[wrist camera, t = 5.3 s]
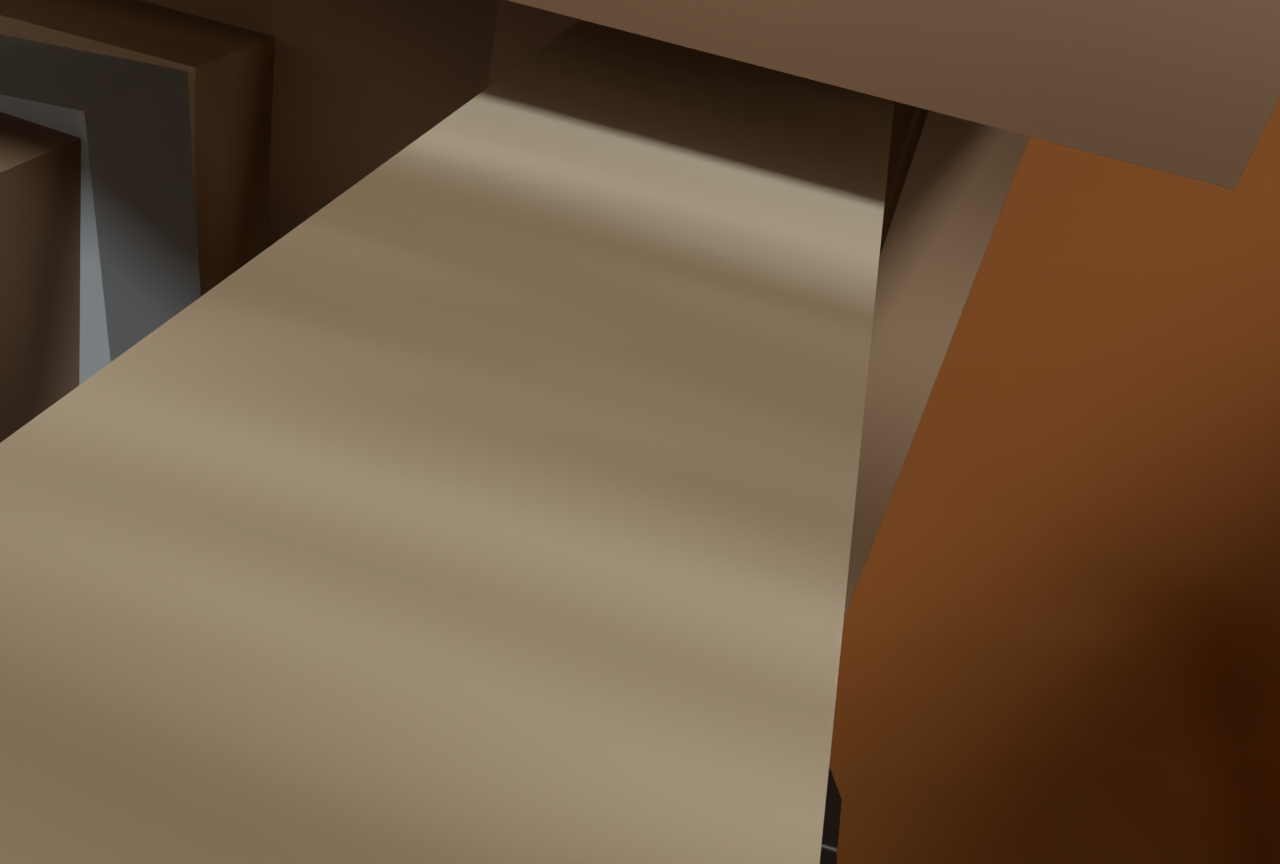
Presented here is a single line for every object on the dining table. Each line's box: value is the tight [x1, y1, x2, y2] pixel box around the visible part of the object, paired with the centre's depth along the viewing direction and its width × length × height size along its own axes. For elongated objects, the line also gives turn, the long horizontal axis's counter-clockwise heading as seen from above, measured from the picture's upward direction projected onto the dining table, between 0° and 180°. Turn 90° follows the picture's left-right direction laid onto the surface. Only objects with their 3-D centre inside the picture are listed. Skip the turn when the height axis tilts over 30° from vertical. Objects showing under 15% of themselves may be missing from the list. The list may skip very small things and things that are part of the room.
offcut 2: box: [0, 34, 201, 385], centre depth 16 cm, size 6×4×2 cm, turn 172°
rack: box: [140, 0, 1280, 617], centre depth 15 cm, size 17×16×10 cm
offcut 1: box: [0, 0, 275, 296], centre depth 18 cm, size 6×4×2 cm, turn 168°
